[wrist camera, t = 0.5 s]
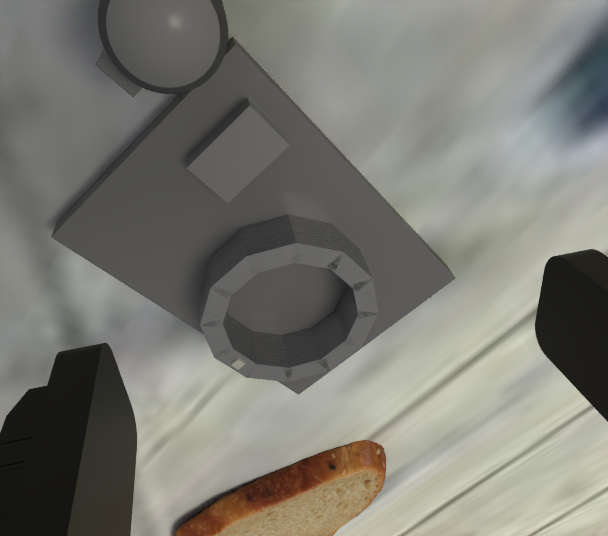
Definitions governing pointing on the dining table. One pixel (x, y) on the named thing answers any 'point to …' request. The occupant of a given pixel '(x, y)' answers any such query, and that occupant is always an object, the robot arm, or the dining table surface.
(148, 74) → the domed grey cylinder
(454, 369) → the dining table surface
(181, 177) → the camera plate
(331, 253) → the grey thick ring
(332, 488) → the slice of bread
